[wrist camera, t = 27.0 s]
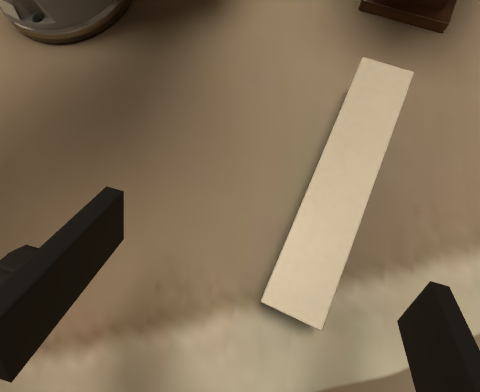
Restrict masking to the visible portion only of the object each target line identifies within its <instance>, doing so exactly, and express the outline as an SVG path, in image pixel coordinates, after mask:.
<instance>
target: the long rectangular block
mask: <svg viewBox="0 0 480 392" xmlns="http://www.w3.org/2000/svg"><path fill="white" fill-rule="evenodd" d="M413 74H414V72H411V71H408V70H405V69H402V68H398V67H395V66H392V65H389V64H385V63H382V62H379V61H376V60H372V59H369V58H366V57H362V60H361V62H360V64H359V67H358V69H357V71H356V74H355V76H354V78H353V81H352V83H351V85H350V87H349V90H348V92H347V95H346V97H345V99H344V102H343V104H342V107H341V109H340V111H339V114H338V116H337V118H336V121H335V123H334V126H333V128H332V130H331V133H330V135H329V138H328V140H327V142H326V145H325V147H324V150H323V152H322V154H321V157H320V159H319V161H318V164H317V166H316V169H315V171H314V173H313V176H312V178H311V181H310V183H309V185H308V188H307V190H306V193H305V195H304V197H303V200H302V202H301V204H300V207H299V209H298V212H297V214H296V216H295V219H294V221H293V224H292V226H291V228H290V231H289V233H288V236H287V238H286V240H285V243H284V245H283V248H282V250H281V252H280V255H279V257H278V259H277V262H276V264H275V267H274V269H273V271H272V274H271V276H270V279H269V281H268V283H267V286H266V288H265V291H264V293H263V295H262V298H261V302H262V303H264V304H266V305H268V306H270V307H272V308H274V309H277V310H279V311H281V312H283V313H285V314H287V315H289V316H291V317H293V318H295V319H297V320H299V321H301V322H304V323H306V324H308V325H310V326H312V327H314V328H316V329H318V330H320V331H321V330H322V328H323V326H324V323H325V320H326V317H327V314H328V312H329V309H330V306H331V303H332V300H333V298H334V295H335V292H336V289H337V286H338V284H339V281H340V278H341V275H342V273H343V270H344V267H345V264H346V261H347V259H348V256H349V253H350V250H351V247H352V245H353V242H354V239H355V236H356V233H357V231H358V228H359V225H360V222H361V220H362V217H363V214H364V211H365V208H366V206H367V203H368V200H369V197H370V194H371V192H372V189H373V186H374V183H375V180H376V178H377V175H378V172H379V169H380V167H381V164H382V161H383V158H384V155H385V153H386V150H387V147H388V144H389V141H390V139H391V136H392V133H393V130H394V127H395V125H396V122H397V119H398V116H399V114H400V111H401V108H402V105H403V102H404V100H405V97H406V94H407V91H408V88H409V86H410V83H411V80H412V77H413Z"/></svg>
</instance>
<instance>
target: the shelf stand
mask: <svg viewBox="0 0 480 392" xmlns="http://www.w3.org/2000/svg"><path fill="white" fill-rule="evenodd" d="M456 1H457V0H362V1H361V4H360V7H359V10H362V11H366V12H369V13H373V14H376V15H380V16H383V17H387V18H391V19H394V20H398V21H401V22H405V23H408V24H412V25H415V26H419V27H423V28H426V29H430V30H433V31H437V32H440V33H443V31H444V30H445V29H446V27H447V26H448V24H449V22H450V19H451V16H452V13H453V10H454V7H455V4H456Z"/></svg>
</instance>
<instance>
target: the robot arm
mask: <svg viewBox="0 0 480 392" xmlns="http://www.w3.org/2000/svg"><path fill="white" fill-rule="evenodd" d="M129 2H130V0H0V8H1V10H2V11H3V13H4V14H5V15H6V16H7V18H8V19H9V20H10V21H11V22H12V23H13V24H14V25H15V26H16V27H17V28H18V30H19V31H21V32H22V33H23V34H24V35H26V36H28V37H30V38H32V39H34V40H37V41H41V42H45V43H69V42H74V41H78V40H82V39H85V38H88V37H90V36H92V35H95V34H97V33H98V32H100V31H102V30H104V29H105V28H107V27H108V26H109V25H111V24H112V23H113V22H114V21H115V20H116V19H117V18H118V17H119V16H120V15H121V14H122V13H123V12H124V10H125V9H126V7H127V6H128V4H129ZM123 239H124V191H120V190H117V189H113V188H110V187H107V186H106V187H105V188H104V189H103V190H102V191H101V192H100V193H99V194H98V195H97V196H96V197H94V198H93V199H92V200H91V201H90V202H89V203H88V204H87V205H86V206H85V207H84V208H82V209H81V210H80V211H79V212H78V213H77V214H76V215H75V216H74V217H73V218H72V219H70V220H69V221H68V222H67V223H66V224H65V225H64V226H63V227H62V228H61V229H60V230H58V231H57V232H56V233H55V234H54V235H53V236H52V237H51V238H50V239H49V240H48V241H46V242H45V243H44V244H43V245H42V246H41V247H40V248H36V247H32V246H29V245H25V246H22V247H20V248H18V249H16V250H14V251H12V252H10V253H8V254H7V255H6V256H5V257H4V258H2V259H1V260H0V379H2V380H5V381H8V382H12V381H13V380H14V379H15V377H16V376H17V375H18V374H19V372H20V371H21V370H22V368H23V367H24V366H25V365H26V363H27V362H28V361H29V359H30V358H31V357H32V356H33V354H34V353H35V352H36V351H37V349H38V348H39V347H40V345H41V344H42V343H43V342H44V340H45V339H46V338H47V336H48V335H49V334H50V333H51V331H52V330H53V329H54V327H55V326H56V325H57V324H58V322H59V321H60V320H61V319H62V317H63V316H64V315H65V313H66V312H67V311H68V310H69V308H70V307H71V306H72V304H73V303H74V302H75V301H76V299H77V298H78V297H79V295H80V294H81V293H82V292H83V290H84V289H85V288H86V287H87V285H88V284H89V283H90V281H91V280H92V279H93V278H94V276H95V275H96V274H97V272H98V271H99V270H100V269H101V267H102V266H103V265H104V264H105V262H106V261H107V260H108V258H109V257H110V256H111V255H112V253H113V252H114V251H115V249H116V248H117V247H118V246H119V244H120V243H121V242H122V240H123ZM397 322H398V326H399V330H400V333H401V337H402V341H403V345H404V348H405V352H406V356H407V360H408V363H409V367H410V371H411V375H412V378H413V382H414V386H415V389H416V392H480V350H479V348H478V346H477V344H476V342H475V340H474V338H473V335H472V333H471V331H470V329H469V327H468V325H467V323H466V321H465V319H464V317H463V315H462V312H461V310H460V308H459V306H458V304H457V302H456V300H455V298H454V296H453V294H452V292H451V289H450V287H448V286H445V285H442V284H438V283H435V282H431V281H430V282H429V284H428V285H427V286H426V287H425V288H424V290H423V291H422V292H421V293H420V294H419V296H418V297H417V298H416V299H415V300H414V302H413V303H412V304H411V305H410V306H409V308H408V309H407V310H406V311H405V312H404V314H403V315H402V316H401V317H400V318H399V320H398V321H397Z"/></svg>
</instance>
